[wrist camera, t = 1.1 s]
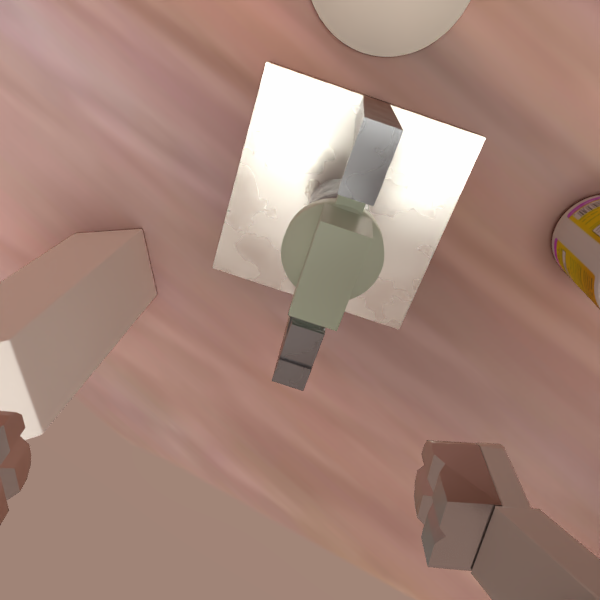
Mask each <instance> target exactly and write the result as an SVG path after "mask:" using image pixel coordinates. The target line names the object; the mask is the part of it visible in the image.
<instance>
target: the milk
mask: <svg viewBox="0 0 600 600" xmlns="http://www.w3.org/2000/svg"><path fill="white" fill-rule="evenodd" d="M156 295H157V291H156V287H155V282H154V278H153V273H152V269H151V265H150V260H149V256H148V251H147V247H146V242H145V238H144V233H143V230H142V229H131V230H116V231H101V232H86V233H75V234H73V235H72V236H70V237H69V238H67V239H66V240H64V241H62V242H61V243H59V244H58V245H56V246H55V247H53V248H52V249H50V250H49V251H47V252H46V253H44V254H43V255H41V256H40V257H38V258H36V259H35V260H33V261H32V262H30V263H29V264H27V265H26V266H24V267H23V268H21V269H20V270H18V271H17V272H15V273H14V274H12V275H11V276H9V277H7V278H6V279H4V280H3V281H1V282H0V411H9V412H17V413H19V414H21V415H22V417H23V420H24V424H25V429H24V431H23V432H22V434H21V435H20V436H21V437H22V438H23V439H24V440H27V439H30V438H33V437H36V436H39V435H41V434H43V433H44V432H45V431H46V429H47V428H48V427H49V426H50V424H51V423H52V422H53V421H54V420H55V418H56V417H57V416H58V415H59V413H60V412H61V411H62V410H63V409H64V407H65V406H66V405H67V404H68V403H69V401H70V400H71V399H72V398H73V396H74V395H75V394H76V393H77V392H78V390H79V389H80V388H81V387H82V385H83V384H84V383H85V382H86V381H87V379H88V378H89V377H90V376H91V375H92V373H93V372H94V371H95V370H96V368H97V367H98V366H99V365H100V364H101V362H102V361H103V360H104V359H105V357H106V356H107V355H108V354H109V353H110V351H111V350H112V349H113V348H114V347H115V345H116V344H117V343H118V342H119V340H120V339H121V338H122V337H123V336H124V334H125V333H126V332H127V331H128V329H129V328H130V327H131V326H132V325H133V323H134V322H135V321H136V320H137V319H138V317H139V316H140V315H141V314H142V312H143V311H144V310H145V309H146V308H147V306H148V305H149V304H150V303H151V301H152V300H153V299H154V298H155V297H156Z"/></svg>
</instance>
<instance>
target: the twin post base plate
mask: <svg viewBox="0 0 600 600" xmlns="http://www.w3.org/2000/svg"><path fill="white" fill-rule="evenodd" d="M485 139H486V138H485V137H484V136H482V135H479V134H476V133H474V132H471V131H468V130H465V129H462V128H459V127H456V126H453V125H450V124H448V123H445V122H442V121H439V120H436V119H433V118H430V117H427V116H424V115H422V114H419V113H416V112H413V111H410V110H407V109H404V108H401V107H398V106H396V105H393V104H390V103H387V102H384V101H381V100H378V99H375V98H373V97H370V96H367V95H364V94H361V93H358V92H355V91H352V90H349V89H347V88H344V87H341V86H338V85H335V84H332V83H329V82H326V81H323V80H321V79H318V78H315V77H312V76H309V75H306V74H303V73H300V72H297V71H295V70H292V69H289V68H286V67H283V66H280V65H277V64H274V63H271V62H266V65H265V69H264V72H263V76H262V80H261V84H260V88H259V91H258V95H257V99H256V103H255V107H254V111H253V114H252V118H251V122H250V126H249V130H248V133H247V137H246V141H245V145H244V149H243V153H242V156H241V160H240V164H239V168H238V172H237V175H236V179H235V183H234V187H233V191H232V195H231V198H230V202H229V206H228V210H227V214H226V217H225V221H224V225H223V229H222V233H221V237H220V240H219V244H218V248H217V252H216V256H215V259H214V263H213V267H212V268H213V269H216V270H219V271H223V272H226V273H229V274H232V275H235V276H238V277H241V278H244V279H247V280H250V281H253V282H256V283H259V284H262V285H265V286H268V287H271V288H274V289H277V290H280V291H283V292H286V293H289V294H292V295H294V291H295V288H296V287H295V286H294V285H293V284H292V283H291V281H290V280H289V278H288V277H287V275H286V273H285V271H284V268H283V265H282V260H281V245H282V241H283V238H284V235H285V233H286V230H287V228H288V225H289V223H290V222H291V220H292V219H293V217H294V216H295V215H296V214H297V213H298V212H299V211H300V210H301V209H302V208H303V207H305V206H306V205H308V204H310V203H312V202H315V201H317V200H321V199H326V198H337V195H341V196H344V197H347V198H350V199H353V200H356V201H359V202H362V203H365V204H366V205H365V209H366V210H367V211H368V212H369V213H370V214H371V215H372V216H373V217H374V219H375V220H376V222H377V223H378V225H379V227H380V230H381V233H382V237H383V244H384V263H383V267H382V270H381V272H380V274H379V276H378V278H377V280H376V281H375V283H374V284H373V285H372V286H371V287H370V288H369V289H368V290H367V291H366V292H364V293H363V294H361V295H359V296H357V297H355V298H353V299H350V300H349V301H348V304H347V306H346V309H345V312H347V313H350V314H353V315H356V316H359V317H362V318H365V319H368V320H371V321H374V322H377V323H380V324H383V325H386V326H389V327H392V328H395V329H398V330H399V329H400V327H401V324H402V322H403V320H404V318H405V316H406V313H407V311H408V309H409V307H410V305H411V302H412V300H413V298H414V296H415V293H416V291H417V289H418V287H419V285H420V282H421V280H422V278H423V276H424V274H425V271H426V269H427V267H428V265H429V263H430V260H431V258H432V256H433V254H434V252H435V249H436V247H437V245H438V243H439V241H440V238H441V236H442V234H443V232H444V229H445V227H446V225H447V223H448V221H449V218H450V216H451V214H452V212H453V210H454V207H455V205H456V203H457V201H458V199H459V196H460V194H461V192H462V190H463V188H464V185H465V183H466V181H467V179H468V177H469V174H470V172H471V170H472V168H473V165H474V163H475V161H476V159H477V157H478V154H479V152H480V150H481V148H482V146H483V143H484V141H485ZM324 334H325V327H322V326H319V325H316V324H313V323H310V322H307V321H304V320H301V319H298V318H295V317H292V316H289V318H288V322H287V326H286V329H285V333H284V337H283V341H282V344H281V348H280V352H279V356H278V359H277V363H276V367H275V371H274V374H273V378H272V381H274V382H277V383H280V384H283V385H286V386H289V387H292V388H295V389H299V390H302V391H303V390H304V388H305V385H306V382H307V380H308V377H309V375H310V372H311V369H312V366H313V363H314V360H315V358H316V355H317V353H318V350H319V347H320V345H321V342H322V340H323V337H324Z"/></svg>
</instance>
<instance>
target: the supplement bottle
mask: <svg viewBox="0 0 600 600" xmlns="http://www.w3.org/2000/svg"><path fill="white" fill-rule="evenodd" d="M552 251H553V255H554V257H555V260H556V261H557V263H558V264H559V266H560V267H561V268H562V269H563V271H564V272H565V273H566V274H567V275H568V276H569V277H570V278H571V279H572V280H573V281H574V282H575V283H576V284H577V285H578V287H579V288H580V289H581V290H582V291H583V292H584V293H585V294H586V295H587V296H588V297H589V298H590V299H591V300H592V301H593V303H594V304H595V305H596V306H597V307H598V308H599V309H600V195H596V196H592V197H589V198H587V199H584V200H582V201H580V202H578V203H577V204H575V205H574V206H572V207H571V208H570V209H569V210H568V211H567V212H566V213H565V214H564V215H563V216H562V217H561V219H560V220H559V222H558V223H557V225H556V227H555V230H554V233H553V237H552Z"/></svg>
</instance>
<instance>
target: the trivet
mask: <svg viewBox="0 0 600 600" xmlns="http://www.w3.org/2000/svg"><path fill="white" fill-rule="evenodd" d="M469 2H470V0H312V3H313V5H314V8H315V10H316V11H317V13H318V15H319V17H320V19H321V20H322V22H323V23H324V24H325V26H326V27H327V28H328V29H329V30H330V32H331V33H332V34H333V35H334V36H335V37H337V38H338V39H339V40H340V41H341V42H343V43H344V44H346V45H347V46H349V47H351V48H352V49H355V50H357V51H359V52H362V53H365V54H369V55H372V56H380V57H395V56H401V55H406V54H409V53H413V52H416V51H418V50H420V49H422V48H425V47H427V46H428V45H430V44H432V43H433V42H435V41H436V40H438V39H439V38H440V37H441V36H443V35H444V34H445V33H446V32H447V31H448V30H449V29H450V28H451V27H452V26H453V25H454V24H455V23H456V22H457V20H458V19H459V18H460V16H461V15H462V14H463V12H464V11H465V9H466V7H467V6H468V4H469Z"/></svg>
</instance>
